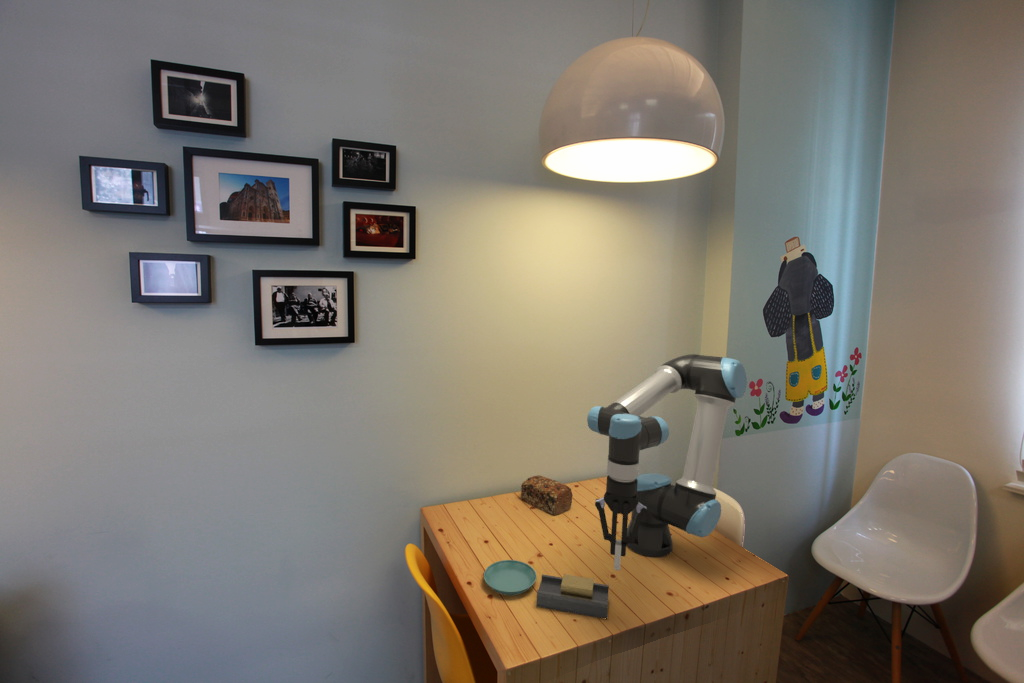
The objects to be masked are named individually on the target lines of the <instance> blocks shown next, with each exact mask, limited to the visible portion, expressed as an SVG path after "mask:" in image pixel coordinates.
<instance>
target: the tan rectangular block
mask: <svg viewBox="0 0 1024 683" xmlns="http://www.w3.org/2000/svg"><path fill="white" fill-rule="evenodd" d="M562 578H563V579H562V583H561V594H562V595H568V596H574V597H580V598H586V599H591V600H592V597H593V584H594V583H595V582H594V581H595V580H594V578H589V577H584V576H577V575H571V574H566V573H564V574H563V575H562Z"/></svg>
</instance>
